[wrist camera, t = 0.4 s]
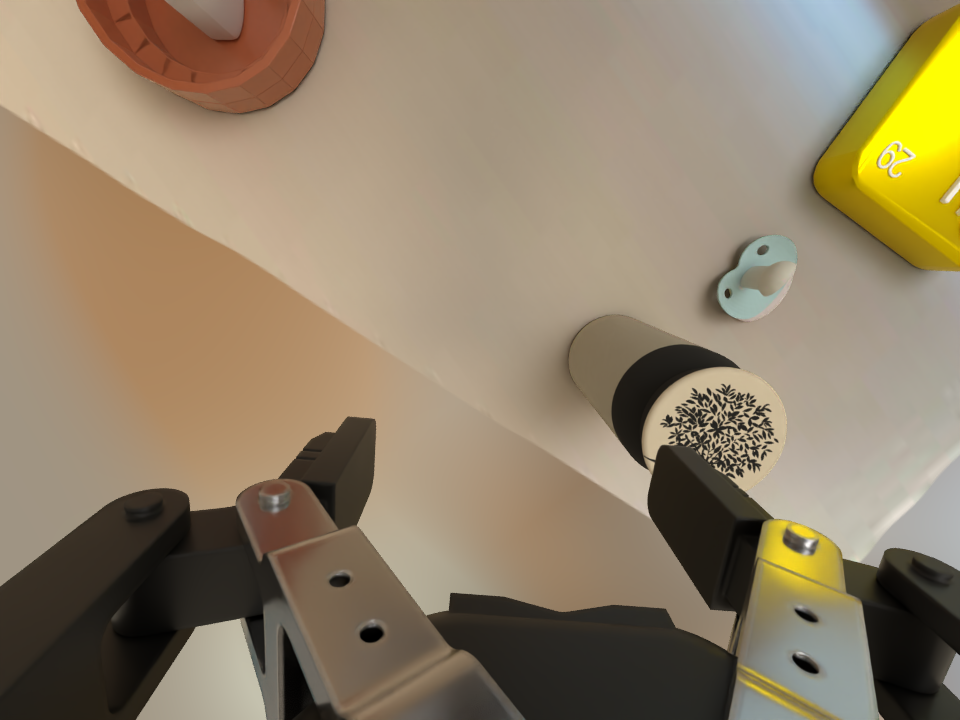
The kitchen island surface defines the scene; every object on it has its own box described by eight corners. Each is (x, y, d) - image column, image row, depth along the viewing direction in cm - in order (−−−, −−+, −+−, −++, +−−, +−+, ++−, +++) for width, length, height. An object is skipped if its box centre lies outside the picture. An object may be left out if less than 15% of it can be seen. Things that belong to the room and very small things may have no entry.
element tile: (1061, 120, 36) (1147, 101, 32) (928, 279, 39) (989, 283, 34) (930, 6, 34) (1002, -33, 30) (799, 183, 37) (846, 173, 32)
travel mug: (602, 297, 39) (706, 333, 22) (673, 345, 40) (826, 416, 23) (550, 370, 41) (608, 460, 23) (619, 415, 42) (725, 532, 24)
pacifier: (803, 266, 39) (753, 226, 38) (866, 270, 33) (809, 223, 32) (747, 335, 40) (697, 298, 39) (797, 351, 34) (740, 308, 33)
